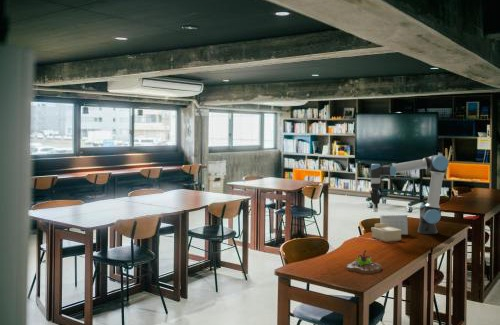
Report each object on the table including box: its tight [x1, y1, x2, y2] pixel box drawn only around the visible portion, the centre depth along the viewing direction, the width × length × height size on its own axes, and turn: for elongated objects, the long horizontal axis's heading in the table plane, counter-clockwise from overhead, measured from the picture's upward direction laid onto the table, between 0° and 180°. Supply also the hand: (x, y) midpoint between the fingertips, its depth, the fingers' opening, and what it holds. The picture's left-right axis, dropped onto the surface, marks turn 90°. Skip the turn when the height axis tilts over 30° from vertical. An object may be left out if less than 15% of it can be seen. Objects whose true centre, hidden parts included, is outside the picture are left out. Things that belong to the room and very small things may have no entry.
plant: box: [345, 250, 383, 275], centre depth 275 cm, size 20×20×11 cm
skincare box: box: [379, 214, 409, 236], centre depth 373 cm, size 21×6×16 cm, turn 84°
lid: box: [370, 222, 402, 234], centre depth 356 cm, size 16×18×5 cm
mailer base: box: [371, 230, 402, 243], centre depth 356 cm, size 14×18×7 cm
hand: (375, 212), depth 369 cm, fingers closed
